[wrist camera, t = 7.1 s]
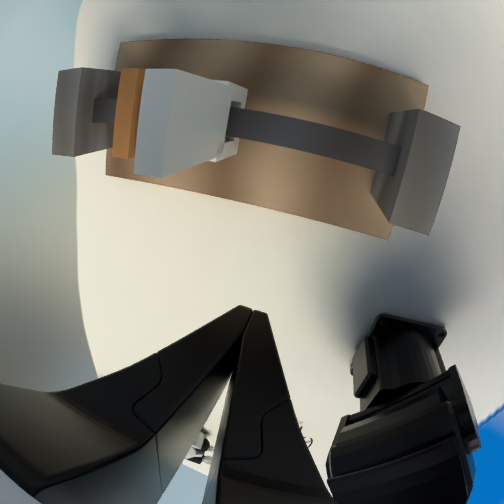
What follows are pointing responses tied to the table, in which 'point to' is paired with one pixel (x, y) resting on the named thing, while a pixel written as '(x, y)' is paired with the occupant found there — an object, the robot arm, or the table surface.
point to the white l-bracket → (184, 121)
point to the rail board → (279, 131)
